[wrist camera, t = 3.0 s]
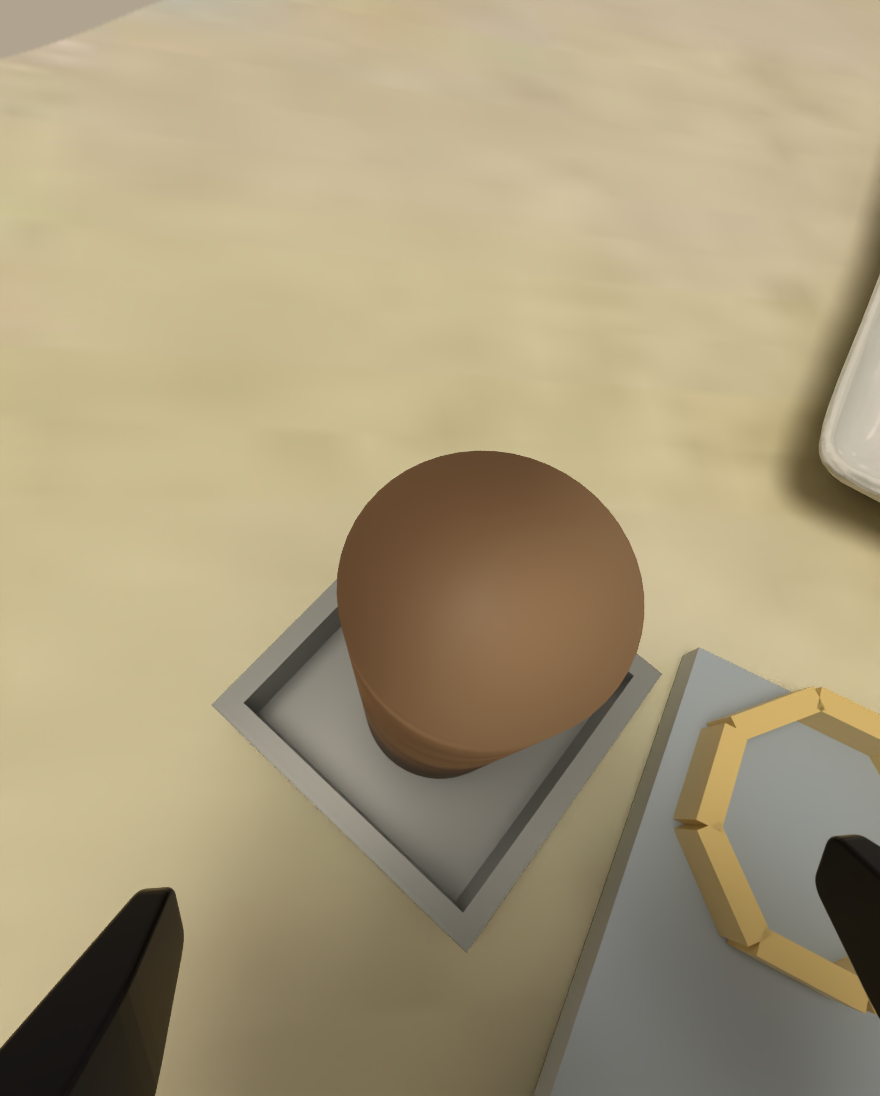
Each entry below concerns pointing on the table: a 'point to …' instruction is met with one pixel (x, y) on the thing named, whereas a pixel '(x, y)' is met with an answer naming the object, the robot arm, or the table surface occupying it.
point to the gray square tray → (405, 798)
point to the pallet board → (669, 948)
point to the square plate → (857, 411)
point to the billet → (485, 609)
